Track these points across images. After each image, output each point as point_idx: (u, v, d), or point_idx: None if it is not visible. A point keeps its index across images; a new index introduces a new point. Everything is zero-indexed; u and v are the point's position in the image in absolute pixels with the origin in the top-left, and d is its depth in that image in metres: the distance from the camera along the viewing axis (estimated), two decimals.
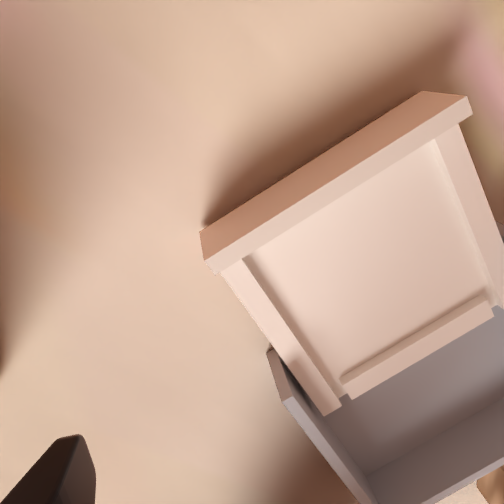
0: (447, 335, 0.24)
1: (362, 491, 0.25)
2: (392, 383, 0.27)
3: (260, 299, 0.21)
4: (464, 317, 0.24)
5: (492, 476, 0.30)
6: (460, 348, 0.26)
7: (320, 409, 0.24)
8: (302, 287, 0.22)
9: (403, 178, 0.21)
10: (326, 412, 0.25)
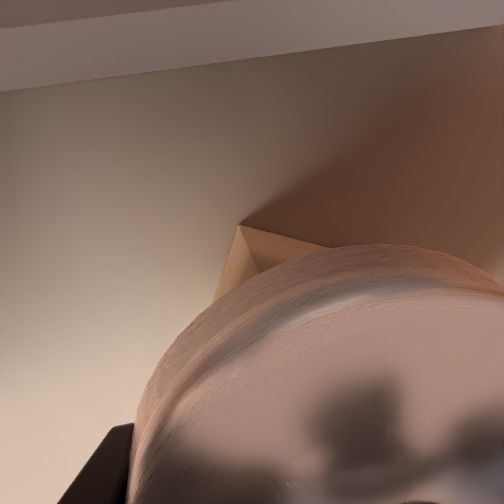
0: None
1: None
2: None
3: None
4: None
5: None
6: None
7: None
8: None
9: None
10: None
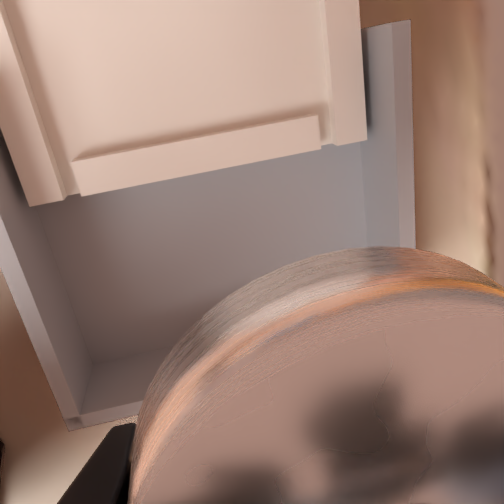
0: (248, 147, 0.16)
1: (48, 343, 0.16)
2: (163, 224, 0.18)
3: None
4: (279, 128, 0.16)
5: None
6: (271, 209, 0.19)
7: (26, 190, 0.15)
8: None
9: None
10: (34, 201, 0.16)
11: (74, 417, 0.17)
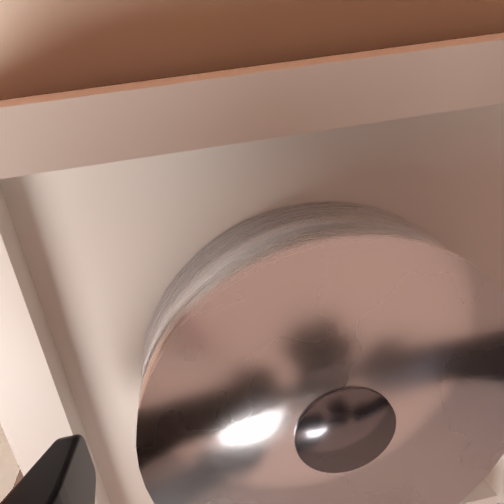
0: None
1: None
2: None
3: (15, 334, 0.08)
4: None
5: None
6: None
7: None
8: (141, 342, 0.09)
9: (460, 185, 0.09)
10: None
11: None
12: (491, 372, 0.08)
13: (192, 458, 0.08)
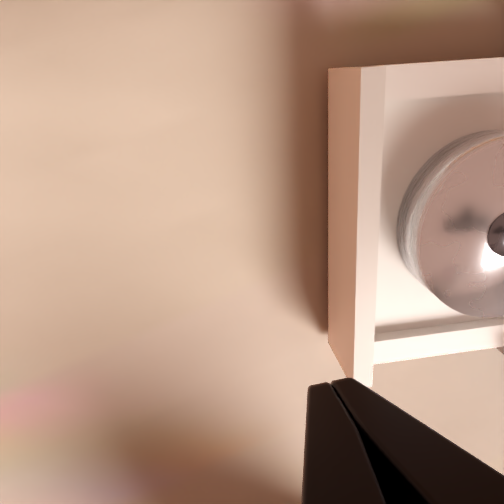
0: None
1: None
2: None
3: (424, 341, 0.20)
4: None
5: None
6: None
7: None
8: None
9: (405, 145, 0.17)
10: None
11: None
12: None
13: (495, 297, 0.18)
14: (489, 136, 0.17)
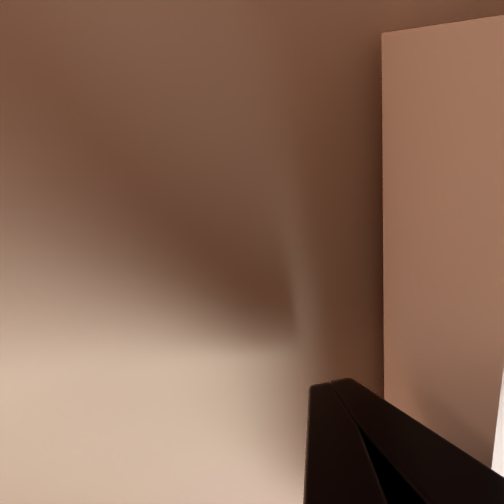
0: None
1: None
2: None
3: None
4: None
5: None
6: None
7: None
8: None
9: None
10: None
11: None
12: None
13: None
14: None
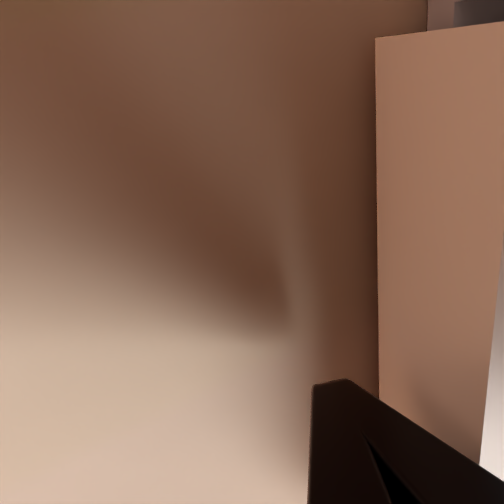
0: None
1: None
2: None
3: None
4: None
5: None
6: None
7: None
8: None
9: None
10: None
11: None
12: None
13: None
14: None
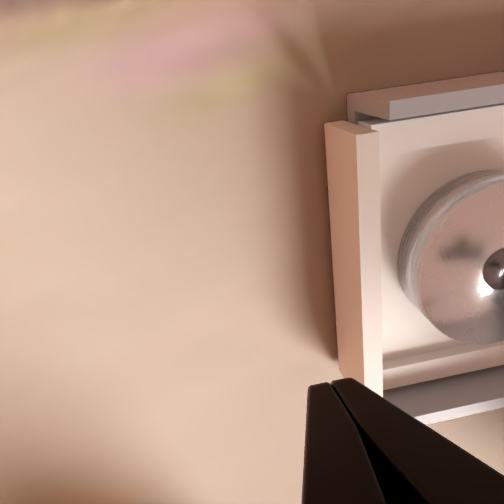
0: None
1: None
2: None
3: (429, 366, 0.21)
4: None
5: None
6: None
7: None
8: None
9: (401, 191, 0.18)
10: None
11: None
12: None
13: (489, 326, 0.19)
14: (485, 179, 0.18)
